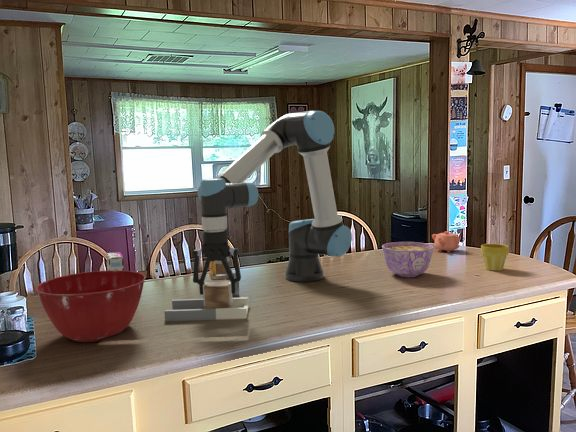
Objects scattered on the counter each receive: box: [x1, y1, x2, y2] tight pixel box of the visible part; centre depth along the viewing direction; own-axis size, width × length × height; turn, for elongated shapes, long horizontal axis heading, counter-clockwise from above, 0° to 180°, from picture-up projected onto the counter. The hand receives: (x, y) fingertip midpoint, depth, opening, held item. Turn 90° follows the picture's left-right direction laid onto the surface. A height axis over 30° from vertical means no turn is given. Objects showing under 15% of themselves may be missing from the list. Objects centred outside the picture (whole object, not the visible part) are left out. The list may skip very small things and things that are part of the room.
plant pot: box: [480, 243, 510, 272], centre depth 207 cm, size 10×10×10 cm
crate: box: [204, 280, 231, 309], centre depth 155 cm, size 7×7×8 cm
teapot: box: [431, 230, 461, 254], centre depth 246 cm, size 12×12×10 cm
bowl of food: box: [381, 241, 435, 278], centre depth 201 cm, size 20×20×12 cm
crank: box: [209, 261, 236, 280], centre depth 168 cm, size 9×4×6 cm, turn 93°
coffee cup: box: [208, 251, 231, 281], centre depth 187 cm, size 8×8×15 cm
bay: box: [164, 296, 250, 322], centre depth 155 cm, size 24×12×4 cm, turn 91°
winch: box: [224, 279, 247, 298], centre depth 169 cm, size 9×9×8 cm
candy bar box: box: [106, 251, 125, 271], centre depth 173 cm, size 11×5×16 cm, turn 23°
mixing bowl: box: [35, 270, 146, 343], centre depth 142 cm, size 28×28×15 cm
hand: (218, 304), depth 155 cm, fingers closed on crate, 7 cm apart
